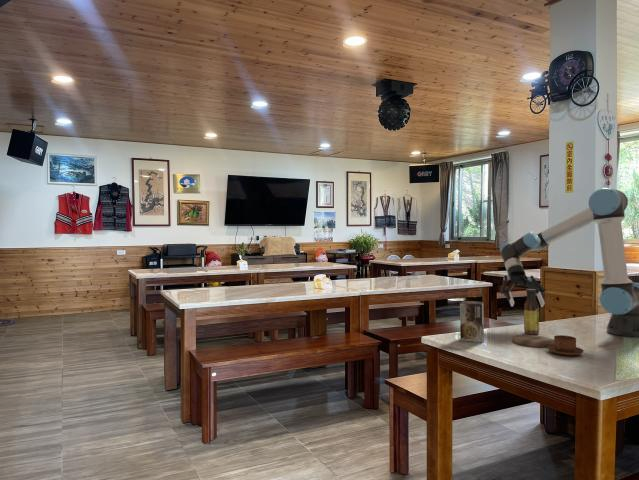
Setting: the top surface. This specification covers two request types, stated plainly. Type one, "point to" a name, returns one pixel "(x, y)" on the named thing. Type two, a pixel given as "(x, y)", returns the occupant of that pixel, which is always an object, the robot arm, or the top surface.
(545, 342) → the coaster pad
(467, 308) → the coffee box
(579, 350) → the cup and saucer
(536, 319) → the sauce bottle
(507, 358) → the top surface
